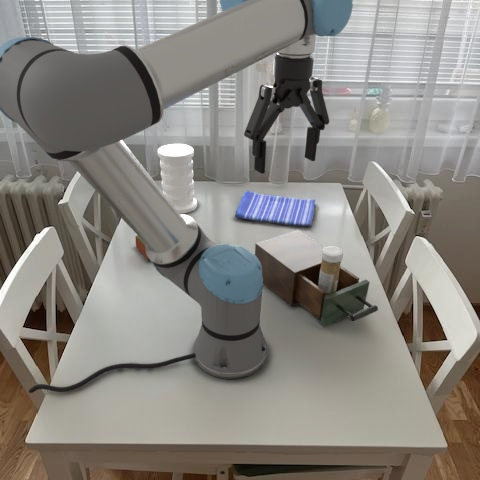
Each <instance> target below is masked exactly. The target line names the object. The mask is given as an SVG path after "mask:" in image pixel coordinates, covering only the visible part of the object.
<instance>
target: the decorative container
mask: <svg viewBox="0 0 480 480" xmlns="http://www.w3.org/2000/svg"><path fill="white" fill-rule="evenodd" d="M156 151H157V156H158V158H159V167H160V177H161V184H160V185H161V187H162V192H163V193H164V195H165V196H166V197H167V198H168V200H169V201H170V202H171V204H172V205H173V206H174V207H175V209H176V210H177V211H178V213H179V214H189V213H191V212H193V211H195V210H196V209H197V207H198V201H197V199H196V197H194V196H195V189H194V187H195V181H194V178H193V177H194V175H195V173H194V169H193V166H194V161H193V157H194V155H195V150H194V147H193V146H190V145H189V144H184V143H169V144H164V145H161V146H159V147H157V150H156Z"/></svg>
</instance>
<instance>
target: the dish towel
mask: <svg viewBox="0 0 480 480" xmlns="http://www.w3.org/2000/svg"><path fill="white" fill-rule="evenodd" d="M315 207H316V199H314V198H313V199H310V198H305V199H303V198H294V197H286V196H279V195H272V194H263V193H257V192H254V191H251V190H247V191H245V192H244V193H243V195H242V198H241V199H240V202H239V204H238V206H237V209H236V211H235V214H234V216H235V218H236V219H243V220H248V221H253V222H261V223H263V222H264V223H271V224H279V225H286V226H294V227H295V226H297V227H311V226H312V222H313V219H314V214H315V209H316V208H315Z"/></svg>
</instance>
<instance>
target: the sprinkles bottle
mask: <svg viewBox="0 0 480 480" xmlns="http://www.w3.org/2000/svg"><path fill="white" fill-rule="evenodd" d="M324 247H325V248H324V249H323V251H322V263H321V268H320V275H319V282H318V287H319V288H321V289H322V290H323V291H325V292H326V293H325V296H327V295H330V294H332V293H335V292H336V290H337V284H338V278H339V270H340V266H341V264H342V260H343V257H344V251H343V249H342V248H340V246H339V247H338V246H335V245H328V246H324Z"/></svg>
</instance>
